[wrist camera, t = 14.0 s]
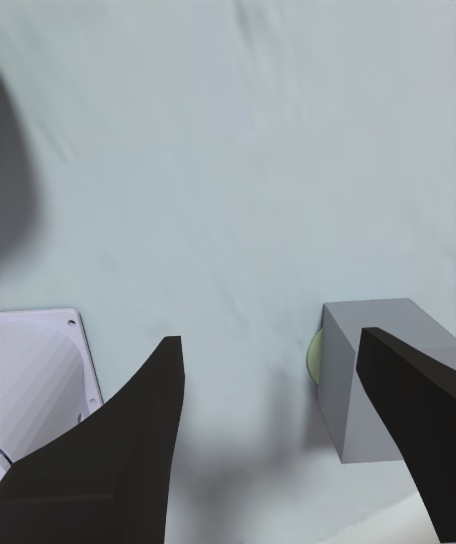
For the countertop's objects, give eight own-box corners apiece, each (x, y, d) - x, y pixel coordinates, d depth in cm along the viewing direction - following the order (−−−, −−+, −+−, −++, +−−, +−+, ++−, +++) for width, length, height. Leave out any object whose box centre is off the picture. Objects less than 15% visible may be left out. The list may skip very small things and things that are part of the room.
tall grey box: (390, 394, 26) (433, 457, 21) (316, 399, 26) (341, 463, 21) (408, 298, 23) (465, 345, 18) (324, 303, 23) (355, 352, 17)
